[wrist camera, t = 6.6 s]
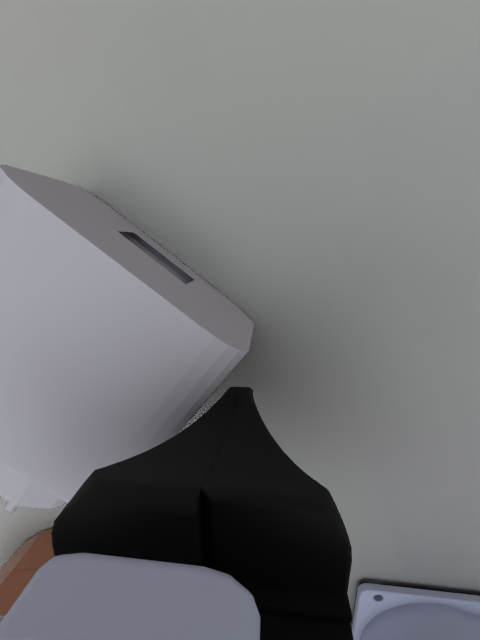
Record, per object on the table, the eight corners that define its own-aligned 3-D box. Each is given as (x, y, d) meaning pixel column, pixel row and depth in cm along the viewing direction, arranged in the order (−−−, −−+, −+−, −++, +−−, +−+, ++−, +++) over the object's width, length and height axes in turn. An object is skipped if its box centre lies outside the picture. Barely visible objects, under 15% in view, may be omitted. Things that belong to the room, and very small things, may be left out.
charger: (-35, 416, 16) (87, 187, 12) (99, 506, 17) (255, 319, 13) (-154, 484, 12) (-21, 154, 8) (36, 603, 12) (248, 360, 8)
